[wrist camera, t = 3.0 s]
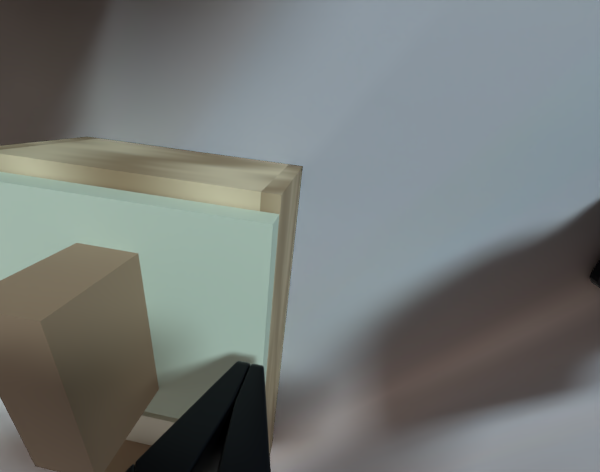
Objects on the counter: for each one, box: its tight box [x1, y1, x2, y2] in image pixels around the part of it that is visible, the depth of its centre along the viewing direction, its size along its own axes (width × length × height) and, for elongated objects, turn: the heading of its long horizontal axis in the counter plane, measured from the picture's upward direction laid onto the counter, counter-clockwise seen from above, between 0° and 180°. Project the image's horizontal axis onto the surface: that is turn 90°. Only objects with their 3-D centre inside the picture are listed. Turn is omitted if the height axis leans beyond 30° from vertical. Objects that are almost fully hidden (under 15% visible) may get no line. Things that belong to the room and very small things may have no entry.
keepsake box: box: [0, 137, 303, 453], centre depth 15 cm, size 10×20×4 cm, turn 174°
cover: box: [0, 172, 279, 472], centre depth 9 cm, size 10×9×4 cm
